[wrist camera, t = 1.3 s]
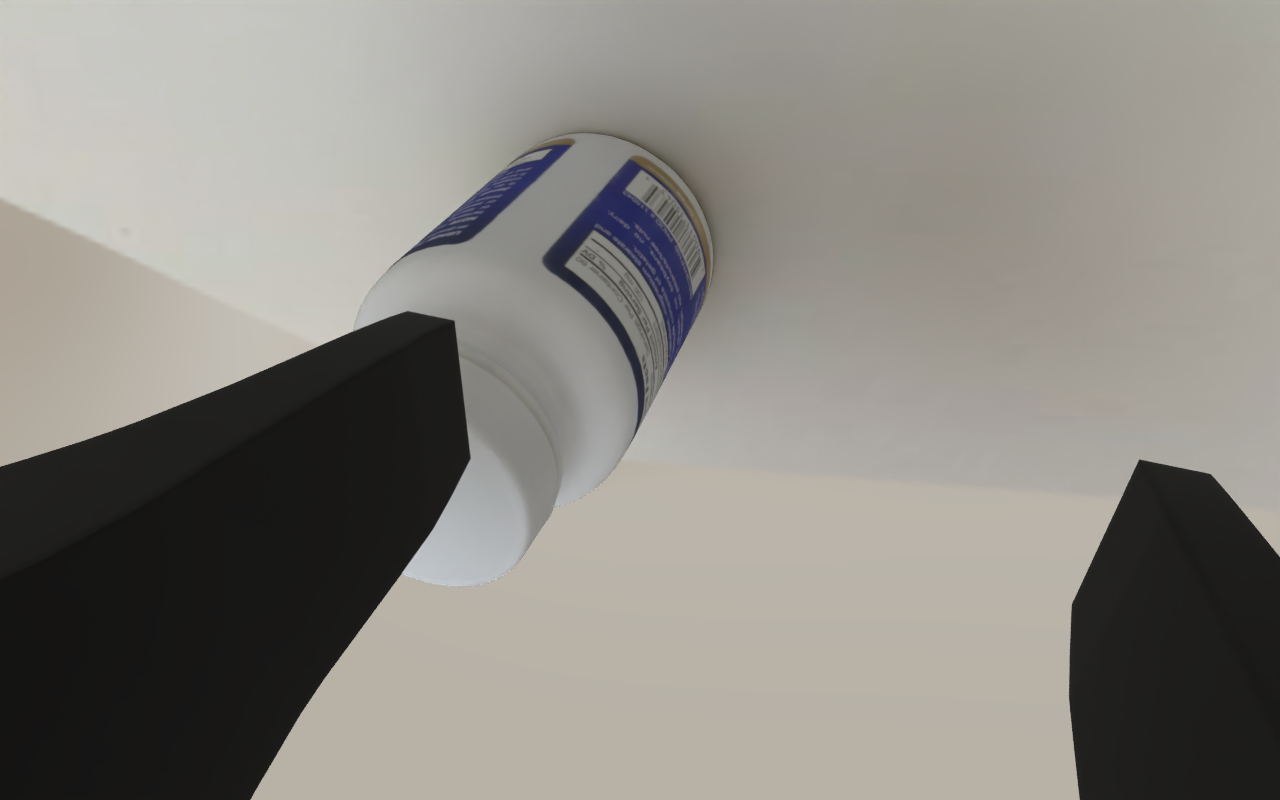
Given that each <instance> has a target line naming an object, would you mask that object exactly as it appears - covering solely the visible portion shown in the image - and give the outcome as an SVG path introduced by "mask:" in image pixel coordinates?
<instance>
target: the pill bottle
mask: <svg viewBox="0 0 1280 800" xmlns="http://www.w3.org/2000/svg"><path fill="white" fill-rule="evenodd" d="M712 272H713V247H712V240H711V235H710V231H709V228H708V225H707V221H706V219H705V217H704V214H703V212H702V210H701V208H700V206H699V204H698V202H697V200H696V198H695V197H694V195H693V194H692V192H691V191H690V189H689V188H688V187H687V185H686V184H685V183H684V182H683V180H682V179H681V178H680V177H679V176H678V175H677V174H676V173H675V172H674V171H673V170H672V169H671V168H670V167H669V166H668V165H666V164H665V163H664V162H662V161H661V160H660V159H658V158H657V157H655V156H654V155H652V154H651V153H649V152H647V151H646V150H644V149H642V148H640V147H638V146H636V145H634V144H632V143H630V142H627V141H624V140H622V139H619V138H616V137H612V136H608V135H602V134H592V133H575V134H568V135H563V136H558V137H555V138H552V139H549V140H546V141H544V142H541V143H539V144H537V145H536V146H534V147H532V148H530V149H529V150H528V151H526V152H525V153H523V154H522V155H521V156H519V157H518V158H517V159H515V160H514V161H513V162H512V163H510V164H509V165H508V166H507V167H506V168H504V169H503V170H502V171H501V172H500V173H499V174H497V175H496V176H495V177H494V178H493V179H492V180H491V181H489V182H488V183H487V184H486V185H485V186H484V187H482V188H481V189H480V190H479V191H478V192H477V193H476V194H474V195H473V196H472V197H471V198H470V199H469V200H467V201H466V202H465V203H464V204H463V205H462V206H461V207H459V208H458V209H457V210H456V211H455V212H453V213H452V214H451V215H450V216H449V217H448V218H447V219H446V220H444V221H443V222H442V223H441V224H440V225H438V226H437V227H436V228H435V229H434V230H433V231H432V232H430V233H429V234H428V235H427V236H426V237H424V238H423V239H422V240H421V241H420V242H419V243H418V244H417V245H416V246H414V247H413V248H412V249H411V250H410V251H408V252H407V253H406V254H405V255H404V256H403V257H401V258H400V259H399V260H398V261H397V262H396V263H394V264H393V265H392V266H391V267H390V268H389V269H388V271H387V272H386V273H385V274H384V275H383V276H382V277H381V278H380V279H379V280H378V281H377V282H376V283H375V285H374V286H373V287H372V288H371V290H370V291H369V293H368V294H367V296H366V298H365V299H364V301H363V303H362V305H361V307H360V309H359V312H358V314H357V317H356V321H355V324H354V328H353V331H356V330H358V329H360V328H363V327H365V326H368V325H370V324H373V323H375V322H377V321H380V320H383V319H385V318H388V317H391V316H394V315H397V314H400V313H403V312H406V311H410V312H415V313H420V314H425V315H430V316H435V317H440V318H445V319H450V320H455V328H456V336H457V345H458V354H459V362H460V371H461V379H462V388H463V396H464V405H465V413H466V422H467V430H468V439H469V448H470V456H471V459H470V461H469V463H468V465H467V467H466V469H465V471H464V473H463V475H462V477H461V479H460V481H459V483H458V485H457V487H456V489H455V491H454V493H453V494H452V496H451V498H450V500H449V502H448V504H447V505H446V507H445V509H444V511H443V513H442V514H441V516H440V518H439V520H438V522H437V523H436V525H435V527H434V529H433V530H432V532H431V533H430V534H429V536H428V537H427V539H426V540H425V542H424V543H423V544H422V546H421V547H420V549H419V550H418V551H417V553H416V554H415V556H414V557H413V558H412V560H411V561H410V563H409V564H408V565H407V567H406V568H405V569H404V571H403V572H402V574H403V575H406V576H408V577H411V578H414V579H417V580H419V581H423V582H428V583H433V584H437V585H442V586H453V587H464V586H465V587H466V586H475V585H480V584H484V583H488V582H492V581H494V580H495V579H498V578H500V577H502V576H503V575H505V574H506V573H508V572H509V571H510V570H512V569H513V568H514V567H515V566H516V565H517V564H518V562H519V561H520V560H521V558H522V557H523V556H524V554H525V553H526V551H527V550H528V548H529V547H530V545H531V544H532V542H533V540H534V539H535V537H536V536H537V534H538V533H539V531H540V530H541V528H542V527H543V525H544V524H545V522H546V521H547V520H548V518H549V517H550V515H551V513H552V511H553V508H556V507H560V506H563V505H566V504H568V503H571V502H573V501H575V500H577V499H580V498H582V497H583V496H585V495H586V494H588V493H590V492H591V491H592V490H594V489H595V488H596V487H598V486H599V485H600V484H601V483H602V482H603V481H604V480H605V479H606V478H607V477H608V476H609V475H610V474H611V472H612V471H613V470H614V469H615V468H616V466H617V465H618V463H619V462H620V460H621V458H622V457H623V455H624V454H625V452H626V451H627V449H628V447H629V445H630V444H631V442H632V440H633V438H634V436H635V435H636V432H637V430H638V429H639V427H640V425H641V423H642V421H643V419H644V417H645V415H646V413H647V412H648V410H649V408H650V406H651V404H652V402H653V400H654V398H655V396H656V395H657V393H658V391H659V389H660V387H661V385H662V383H663V381H664V379H665V377H666V375H667V373H668V371H669V369H670V367H671V365H672V364H673V362H674V360H675V358H676V356H677V354H678V352H679V350H680V348H681V346H682V344H683V342H684V341H685V339H686V337H687V335H688V333H689V331H690V329H691V327H692V325H693V323H694V321H695V319H696V317H697V315H698V313H699V311H700V309H701V307H702V305H703V303H704V300H705V298H706V296H707V293H708V290H709V287H710V284H711V278H712Z"/></svg>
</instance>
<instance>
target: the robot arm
mask: <svg viewBox="0 0 1280 800" xmlns="http://www.w3.org/2000/svg"><path fill="white" fill-rule="evenodd" d="M470 459H471V456H470V448H469V439H468V430H467V422H466V413H465V405H464V396H463V388H462V379H461V371H460V362H459V354H458V345H457V336H456V328H455V320H450V319H445V318H440V317H435V316H430V315H425V314H420V313H415V312H410V311H406V312H403V313H400V314H397V315H394V316H391V317H388V318H385V319H383V320H380V321H377V322H375V323H373V324H370V325H368V326H365V327H363V328H360V329H358V330H356V331H353V332H351V333H348V334H346V335H344V336H341V337H339V338H337V339H335V340H332V341H330V342H328V343H325V344H323V345H321V346H319V347H316V348H314V349H312V350H309V351H307V352H305V353H303V354H300V355H298V356H296V357H294V358H291V359H289V360H287V361H285V362H282V363H280V364H277V365H275V366H273V367H270V368H268V369H266V370H264V371H261V372H259V373H257V374H254V375H252V376H250V377H247V378H245V379H243V380H241V381H238V382H236V383H234V384H231V385H229V386H226V387H224V388H221V389H219V390H216V391H214V392H211V393H209V394H206V395H204V396H201V397H199V398H196V399H194V400H191V401H189V402H186V403H183V404H181V405H179V406H176V407H173V408H171V409H168V410H166V411H163V412H161V413H158V414H156V415H153V416H151V417H148V418H146V419H143V420H141V421H138V422H136V423H133V424H130V425H127V426H125V427H122V428H119V429H116V430H113V431H111V432H108V433H105V434H102V435H99V436H96V437H93V438H90V439H88V440H85V441H82V442H79V443H75V444H72V445H69V446H66V447H63V448H60V449H56V450H53V451H50V452H47V453H44V454H41V455H38V456H34V457H31V458H28V459H25V460H22V461H18V462H15V463H11V464H8V465H5V466H1V467H0V800H250V799H251V798H252V796H253V794H254V792H255V790H256V789H257V787H258V785H259V783H260V782H261V780H262V778H263V777H264V775H265V773H266V772H267V770H268V768H269V766H270V765H271V763H272V761H273V760H274V758H275V756H276V755H277V753H278V751H279V750H280V748H281V746H282V744H283V743H284V741H285V739H286V737H287V736H288V734H289V732H290V731H291V729H292V727H293V726H294V724H295V722H296V721H297V719H298V717H299V716H300V714H301V712H302V711H303V709H304V708H305V707H306V705H307V704H308V702H309V700H310V699H311V698H312V696H313V695H314V693H315V692H316V690H317V689H318V687H319V686H320V684H321V683H322V681H323V680H324V678H325V677H326V676H327V674H328V673H329V671H330V670H331V668H332V667H333V666H334V665H335V663H336V662H337V661H338V659H339V658H340V657H341V655H342V654H343V653H344V651H345V650H346V648H347V647H348V646H349V644H350V643H351V642H352V640H353V639H354V638H355V636H356V635H357V634H358V632H359V631H360V629H361V628H362V627H363V625H364V624H365V623H366V621H367V620H368V619H369V617H370V616H371V614H372V613H373V612H374V610H375V609H376V608H377V606H378V605H379V604H380V602H381V601H382V600H383V598H384V597H385V595H386V594H387V593H388V591H389V590H390V589H391V587H392V586H393V585H394V583H395V582H396V581H397V579H398V578H399V576H400V575H401V574H402V572H403V571H404V569H405V568H406V567H407V565H408V564H409V563H410V561H411V560H412V558H413V557H414V556H415V554H416V553H417V551H418V550H419V549H420V547H421V546H422V544H423V543H424V542H425V540H426V539H427V537H428V536H429V534H430V533H431V532H432V530H433V529H434V527H435V525H436V523H437V522H438V520H439V518H440V516H441V514H442V513H443V511H444V509H445V507H446V505H447V504H448V502H449V500H450V498H451V496H452V494H453V493H454V491H455V489H456V487H457V485H458V483H459V481H460V479H461V477H462V475H463V473H464V471H465V469H466V467H467V465H468V463H469V461H470ZM1069 677H1070V679H1069V701H1070V712H1071V722H1072V731H1073V741H1074V751H1075V760H1076V769H1077V779H1078V787H1079V796H1080V800H1280V557H1279V556H1278V554H1277V553H1276V552H1275V551H1274V549H1273V548H1272V547H1271V546H1270V544H1269V543H1268V542H1267V541H1266V539H1265V538H1264V537H1263V536H1262V535H1261V533H1260V532H1259V531H1258V530H1257V529H1256V527H1255V526H1254V525H1253V524H1252V522H1251V521H1250V520H1249V519H1248V517H1247V516H1246V515H1245V514H1244V513H1243V511H1242V510H1241V509H1240V508H1239V506H1238V505H1237V504H1236V503H1235V502H1234V500H1233V499H1232V498H1231V497H1230V496H1229V495H1228V493H1227V492H1226V491H1225V490H1224V489H1223V488H1222V486H1221V485H1220V484H1219V483H1218V482H1217V481H1216V480H1215V479H1214V477H1213V476H1212V475H1211V474H1208V473H1203V472H1198V471H1193V470H1188V469H1183V468H1178V467H1173V466H1168V465H1163V464H1158V463H1154V462H1149V461H1144V460H1139V461H1138V464H1137V466H1136V468H1135V470H1134V472H1133V474H1132V476H1131V479H1130V481H1129V483H1128V485H1127V487H1126V489H1125V491H1124V494H1123V496H1122V498H1121V500H1120V502H1119V504H1118V507H1117V509H1116V511H1115V513H1114V515H1113V517H1112V519H1111V522H1110V524H1109V526H1108V528H1107V530H1106V532H1105V534H1104V537H1103V539H1102V541H1101V543H1100V545H1099V547H1098V550H1097V552H1096V554H1095V556H1094V558H1093V560H1092V563H1091V565H1090V567H1089V569H1088V571H1087V573H1086V576H1085V578H1084V580H1083V582H1082V584H1081V586H1080V588H1079V590H1078V593H1077V595H1076V597H1075V599H1074V601H1073V603H1072V614H1071V639H1070V676H1069Z"/></svg>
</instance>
